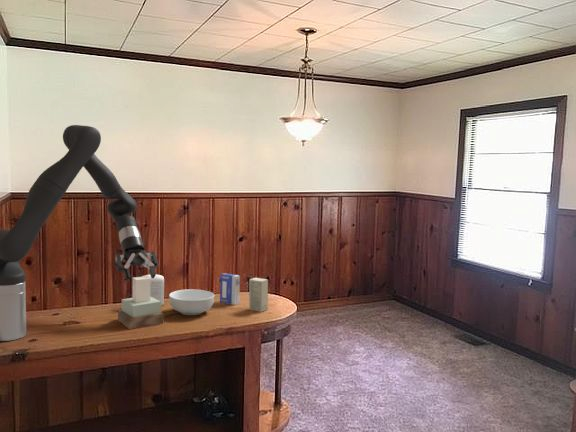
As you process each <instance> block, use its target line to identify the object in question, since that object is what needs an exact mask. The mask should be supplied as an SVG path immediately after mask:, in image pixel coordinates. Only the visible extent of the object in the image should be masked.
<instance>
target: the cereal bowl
mask: <svg viewBox="0 0 576 432" xmlns="http://www.w3.org/2000/svg"><path fill="white" fill-rule="evenodd" d="M168 301H169V305H170V307H171V308H172V309H173V310H174V311H177V312H178V313H180V314H181V315H183V316H197V315H201V314H202V313H204V312H206V311H208V310H210V309H211V308H212V306H213V305H214V301H215V294H214V292H212V291H208V290H203V289H194V288H193V289H187V288H186V289H179V290H175V291H172V292H170V293H169V295H168Z"/></svg>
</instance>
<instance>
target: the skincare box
mask: <svg viewBox="0 0 576 432" xmlns="http://www.w3.org/2000/svg"><path fill="white" fill-rule="evenodd" d="M268 280H269V279H267V278H263V277H262V278H261V277H253V278H249V280H248V281H249V285H248V286H249V288H248V289H249V293H248V294H249V296H248V297H249V299H248V300H249V301H248V302H249V304H248V305H249V306H248V308H249V310H251V311H256V312H260V313H261V312H264V311H267V310H268V309H269V307H268V301H269V299H268V294H269V292H268V291H269V289H268V286H269V281H268Z"/></svg>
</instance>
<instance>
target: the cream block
mask: <svg viewBox="0 0 576 432" xmlns="http://www.w3.org/2000/svg"><path fill="white" fill-rule="evenodd" d="M142 276H143V277H142ZM142 276H135V277H134V276H133V277H132V297H131V298H132V300H133V301H135V302H136V303H137V302H145V301H150V282H151V278H149V277H147V276H145V275H142Z"/></svg>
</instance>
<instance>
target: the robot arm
mask: <svg viewBox="0 0 576 432" xmlns="http://www.w3.org/2000/svg"><path fill="white" fill-rule="evenodd" d="M62 140H63V143H64V146H65V147H66V149H68V151H67V152H66V153H65V155H64V156H63V157H62V158H59V160H57V161H56V162H55V163H53V164H52V165H50V166H49V167H48V168H46V169H45V170H43V172H41V174H40V175H39V176H38V177H37V178H36V179H35V181H34V182H33V184H32V186H31V187H30V188H29V190H28V192H27V194H26V199H25V203H24V207H23V209H22V213H21V215H20V216H19V218H18V220H17V221H16V222H15V224H14V225H13V226H12V227H11V228H10V229H9V230H8V229H0V342H5V341H6V342H8V341H9V342H10V341H15V340H18V339H19V340H20V339H21V338H24V337H26V335H27V305H26V303H27V299H26V297H27V296H26V294H27V293H26V292H27V291H26V287H27V286H26V273H25V271H24V270H23V268H22V266H21V264H20V261H21V260H22V259H24V258H25V257H26V256H27V255H28V254H29V251H30V250H31V248H32V247H33V244H34V243H35V240H36V239H37V237H38V234H39V233H40V231H41V229H42V227H43V226H44V224H45V223H46V221H48V218H49V217H50V216H51V214H52V212H53V211H54V210H55V208H56V207H57V205H58V204H59V202H60V201H61V200H62V198H63V197H64V195H65V194H66V193H67V191H68V189H69V187H70V186H71V184H72V183H73V182H74V180H75V179H76V178H77V176H78V175H79V173H80V172H81V170H82V169H83V168H84V169H85V171H87V173H88V174H89V176H90V177H91V178H92V180H93V181H94V183H95V184H96V186H97V187H98V189H99V191H100V193H101V194H102V196H103V198H105V199H107V200H112V201H110V202H108V204H107V206H106V210H107V212H108V214H109V216H110V217H111V219H113V221H114V223H115V225H116V229H117V232H118V237H119V238H118V239H119V243H120V246H121V250H122V253H123V254H120V253H119V252H118V253H116V255H115V258H114V259H115V260H114V261H115V265H116V266H115V267H116V270H117V272H122V273H123V276H124V278H125V280H127V281H128V282H129V281H131V277H132V276H131V273H130V269H129V268H130V266H132V267H135V266H143V267H144V268H147V269H148V270H149V275H151V278H154V277H155V275H156V274H157V271H156V269H157V268H158V266H159V263H160V262H159V260H158V258H157V255H156V252H155V251H154V250H153V251H151V252H146V250H145V246H144V242H143V240H142V236H141V232H140V231H139V227H138V225H137V221H136V218H135V217H134V216H133V215H131V214H132V213H135V212H136V210H137V203H136V201H135V199H134V198H133V197H132V196H131V195H130V194H129V193H127V192H126V190H124V188H123V187H122V186H121V185H120V183H119V181H118V179H117V177H116V176H115V174H114V173H113V172H112V171H111V169H109V167H107V166H106V164H104V163H103V162H102V160H100V159H99V157H97V155H96V154H95V153H96V152H97V150H98V149H99V147H100V144H101V141H102V138H101V132H100V131H99V130H98V129H97V128H95V127H93V126H90V125H81V124H71V125H69V126H67V127H65V129H64V131H63V133H62ZM122 260H124V262H126V263H125V264H124V265H123V263H122Z"/></svg>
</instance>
